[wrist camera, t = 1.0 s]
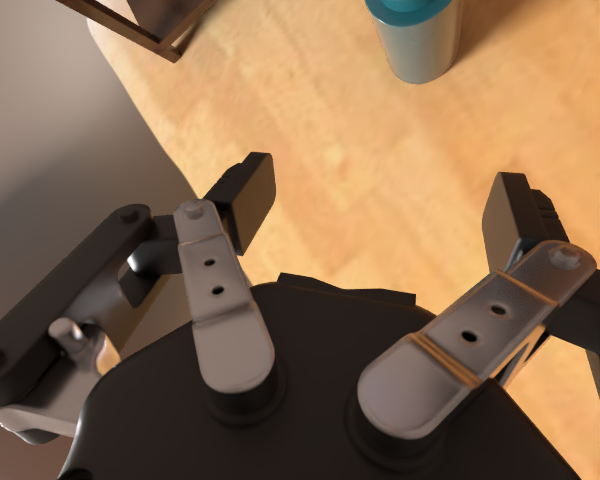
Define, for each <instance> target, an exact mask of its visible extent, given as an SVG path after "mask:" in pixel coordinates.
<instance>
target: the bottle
mask: <svg viewBox="0 0 600 480" xmlns="http://www.w3.org/2000/svg"><path fill="white" fill-rule="evenodd" d="M365 3H366V6H367V8H368V11H369V13H370V16H371V19H372V21H373V24H374V27H375V29H376V32H377V34H378V37H379V40H380V42H381V45H382V47H383V50H384V53H385V55H386V58H387V60H388V63H389V66H390V68H391V70H392V71H393V73H394V74H395V75H396V76H397V77H398V78H399V79H401V80H403V81H405V82H407V83H412V84H422V83H427V82H430V81H432V80H435V79H436V78H438V77H440V76H441V75H442V74H444V73H445V72H446V71H447V70H448V69H449V67H450V66H451V65H452V63H453V62H454V60H455V58H456V55H457V53H458V49H459V41H460V31H461V21H462V10H463V0H365Z"/></svg>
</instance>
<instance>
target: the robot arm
mask: <svg viewBox="0 0 600 480" xmlns="http://www.w3.org/2000/svg"><path fill="white" fill-rule="evenodd" d="M275 197H276V184H275V175H274V166H273V158H272V155H271V154H270V153H262V152H251V153H250V154H249V155H248V156H247V157H246V158H245V160H244V161H243V162H242V163H237V164H236V165H234V166H232V167H230V168H229V169H227V171H226V172H225V173H224V174H223V175H222V177H221V178H220V179H219V180H218V181H217V183H215V185H214V186H213V187H212V188H211V189H210V190H209V191H208V193H207V194H206V195H205V196H204V197H203V198H202V199H194V200H190V201H187V202H184V203H183V204H181V205H179V206H178V207H177V208H176V209H175V211H174V213H173V215H164V216H153V215H152V212H151V210H150V208H149V207H148V206H147V205H143V204H132V205H127V206H124V207H121V208H119V209H117V210H115V211H114V212H113V213H111V214H110V215H109V216H108V218H106V219H105V220H104V221H103V222H102V223H101V224H100V225H99V226H98V227H97V228H96V229H95V230H94V231H93V232H92V233H91V234H90V235H89V236H88V237H87V238H85V239H84V241H82V242H81V243H80V244H79V245H78V246H77V247H76V248H75V249H74V250H73V251H72V252H71V253H70V254H69V255H68V256H67V257H66V258H65V259H64V260H63V261H62V262H60V263H59V264H58V266H56V267H55V268H54V269H53V270H52V271H51V272H50V273H49V274H48V275H47V276H46V277H45V278H44V279H43V280H42V281H41V282H40V283H39V284H37V285H36V286H35V287H34V288H33V289H32V290H31V291H30V292H29V293H28V294H27V295H26V296H25V297H24V298H23V299H22V300H21V301H20V302H19V303H18V304H17V305H16V306H15V307H14V308H13V309H11V310H10V311H9V312H8V313H7V314H6V315H5V316H4V317H3V318H2V319H1V320H0V425H1V426H2V427H4V428H5V429H7V430H9V431H12V432H14V433H15V434H17V435H18V436H19V437H21V438H22V439H23V440H25V441H26V442H28V443H30V444H36V445H38V444H44V443H47V442H49V441H51V440H53V439H55V438H57V437H58V436H60V435H66V436H70V437H74V441H73V444H72V447H71V450H70V452H69V455H68V458H67V460H66V462H65V464H64V466H63V469H62V470H61V472H60V475H59V476H58V478H57V480H581V478H580V477H579V476H578V475H577V473H576V472H575V471H574V470H573V469H572V467H571V466H570V465H569V464H568V463H567V462H566V460H565V459H564V458H563V457H562V456H561V455H560V454H559V452H558V451H557V450H556V449H555V448H554V447H553V445H552V444H551V443H550V442H549V441H548V440H547V438H546V437H545V436H544V435H543V434H542V433H541V431H540V430H539V429H538V428H537V427H536V426H535V424H534V423H533V422H532V421H531V420H530V419H529V417H528V416H527V415H526V414H525V413H524V412H523V410H522V409H521V408H520V407H519V406H518V405H517V403H516V402H515V401H514V400H513V399H512V398H511V396H510V395H509V394H508V393H507V392H506V391H505V390H506V388H507V387H508V386H509V384H510V383H511V382H512V380H513V379H514V378H515V377H516V375H517V374H518V373H519V372H520V371H521V369H522V368H523V367H524V366H525V365H526V364H527V363H528V362H529V361H530V360H531V358H532V357H533V356H534V355H535V354H536V353H537V352H538V351H539V350H540V348H541V347H542V346H543V345H544V344H545V343H546V342H547V341H548V340H549V339H550V337H551V336H555V337H557V338H560V339H562V340H565V341H567V342H569V343H572V344H574V345H577V346H579V347H582V348H584V349H585V350H586V354H587V357H588V361H589V364H590V367H591V371H592V374H593V378H594V381H595V385H596V388H597V391H598V395H599V398H600V270H598V269H596V268H597V263H596V261H595V259H594V258H593V256H592V255H591V254H589V253H588V252H587V251H585V250H584V249H582V248H580V247H578V246H576V245H574V244H571V243H570V241H569V239H568V237H567V235H566V233H565V230H564V228H563V226H562V224H561V221H560V220H559V219H558V218H559V217H558V215H557V213H556V211H555V208H554V206H553V204H552V201H551V199H550V198H548V197H547V196H546V195H545V194H544V193H542V192H541V191H540V190H535V189H530V186H529V184H528V181H527V178H526V176H525V174H523V173H510V172H498V173H497V175H496V177H495V180H494V183H493V186H492V189H491V191H490V194H489V197H488V200H487V203H486V206H485V209H484V213H483V218H482V231H483V236H484V242H485V248H486V254H487V259H488V265H489V271H490V274H488V275H487V276H486V277H485V278H484V279H482V280H481V281H480V282H479V283H477V284H476V285H475V286H474V287H473V288H471V289H470V290H469V291H468V292H466V293H465V294H464V295H463V296H461V297H460V298H459V299H458V300H457V301H455V302H454V303H453V304H452V305H450V306H449V307H448V308H447V309H446V310H444V311H443V312H442V313H441V314H439V315H438V316H436V315H435V314H433V313H431V312H430V311H428V310H426V309H424V308H422V307H420V306H417V305H415V304H416V294H411V293H405V292H399V291H393V290H386V289H341V288H338V287H336V286H333V285H330V284H328V283H325V282H322V281H320V280H317V279H315V278H312V277H306V276H300V275H294V274H288V273H282V272H281V273H280V275H279V277H278V280H277V282H268V283H263V284H258V285H255V286H252V287H250V288H249V286H248V284H247V281H246V279H245V276H244V273H243V271H242V268H241V266H240V263H239V261H238V258H237V255H239V256H243V255H244V253H245V252H246V250H247V248H248V246H249V245H250V243H251V241H252V240H253V238H254V236H255V234H256V233H257V231H258V229H259V228H260V226H261V224H262V222H263V221H264V219H265V217H266V216H267V214H268V212H269V210H270V209H271V207H272V205H273V204H274V201H275ZM126 260H128V262H129V264H130V266H131V267H130V268H129V269H128V271H127V272H126V273H125V274H124V276H123V277H122V278H121V279H120V280H119V282H118V279H117V276H118V271H119V269H120V268H121V266H122V265H123V264H124V263H125V262H126ZM178 273H183V276H184V282H185V287H186V291H187V297H188V301H189V307H190V311H191V317H192V320H191V321H189V322H188V323H186V324H184V325H183V326H181V327H179V328H177V329H176V330H174V331H172V332H170V333H169V334H167V335H165V336H164V337H162V338H160V339H159V340H157V341H155V342H153V343H151V344H150V345H148V346H146V347H145V348H143V349H141V350H140V351H138V352H136V353H134V354H132V355H131V356H129V357H127V358H126V359H124V360H122V361H121V362H120V355H119V353H120V351H121V350H122V348H123V347H124V345H125V344H126V342H127V341H128V340H129V338H130V336H131V335H132V334H133V332H134V330H135V329H136V327H137V326H138V325H139V323H140V322H141V320H142V319H143V317H144V316H145V314H146V313H147V311H148V310H149V308H150V307H151V305H152V304H153V302H154V301H155V299H156V298H157V296H158V295H159V294H160V292H161V291H162V289H163V287H164V286H165V285H166V283H167V282H168V280H169V279H170V277H171V275H172V274H178Z"/></svg>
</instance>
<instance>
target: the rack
mask: <svg viewBox="0 0 600 480" xmlns="http://www.w3.org/2000/svg"><path fill="white" fill-rule="evenodd" d="M56 1H58V2H60V3H62V4H64V5H65V6H67V7H69V8H71V9H73V10H75V11H77V12H79V13H81V14H82V15H84V16H86V17H88V18H90V19H92V20H94V21H96V22H97V23H99V24H101V25H103V26H105V27H107V28H109V29H111V30H112V31H114V32H116V33H118V34H120V35H122V36H124V37H126V38H127V39H129V40H131V41H133V42H135V43H137V44H139V45H141V46H142V47H144V48H146V49H148V50H150V51H152V52H154V53H156V54H157V55H159V56H161V57H163V58H165V59H167V60H169V61H171V62H172V63H175V62H176V61H177V60H178V59H180V58H181V56H180V54H179V52H178V50H177V48H175V47H173V46H172V45H171V44H172V43H173V42H174V41H175V40H176V39H177V38H178V37H179V36H180V35H181V34H182V33H183V32H184V31H186V30H187V29H188V28H189V27H190V26H191V25H192V24H193V23H194V22H195V21H196V20H197V19H198V18H199V17H200V16H201V15H202V14H203V13H204V12H205V11H206V10H207V9H208V8H209V7H210V6H211V5H212V4H213V3H214V2H215V1H216V0H127V2H128V4H129V6H130V8H131V10H132V12H133V14H134V16H135V18H136V20H137V22H138V24H139V26H138V25H136V24H135V23H133V22H131V21H130V20H128V19H126V18H124V17H123V16H121V15H119V14H118V13H116V12H114V11H113V10H111V9H109V8H108V7H106V6H104V5H103V4H101V3H99V2H98V1H96V0H56Z"/></svg>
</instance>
